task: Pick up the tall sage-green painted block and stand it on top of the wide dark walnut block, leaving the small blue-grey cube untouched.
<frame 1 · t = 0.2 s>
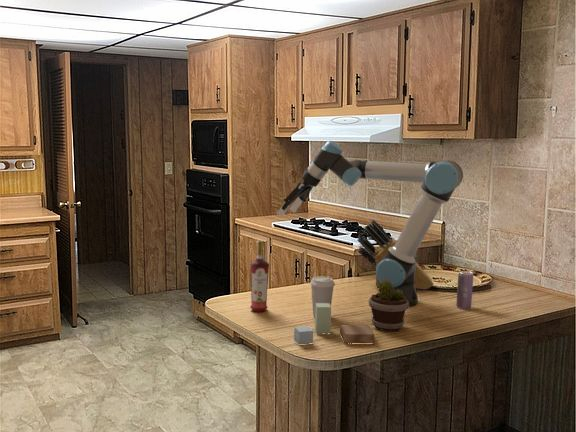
hand: (285, 213, 269), 36 cm above the countertop, tool tilted 35°, fingers open, 13 cm apart
beverage can: (463, 308, 262), on the countertop
sage block: (322, 332, 227), on the countertop
flowerpot: (387, 327, 234), on the countertop
blue-grey cube: (303, 343, 216), on the countertop
walnut block: (356, 340, 220), on the countertop
liquor: (258, 310, 251), on the countertop
knife block: (393, 286, 295), on the countertop
coffee cup: (321, 317, 245), on the countertop
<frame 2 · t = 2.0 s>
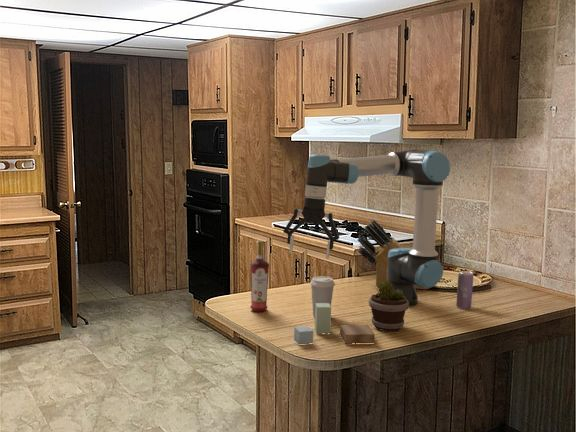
hand: (308, 255, 229), 27 cm above the countertop, tool pointing down, fingers open, 13 cm apart
nothing on the countertop moved.
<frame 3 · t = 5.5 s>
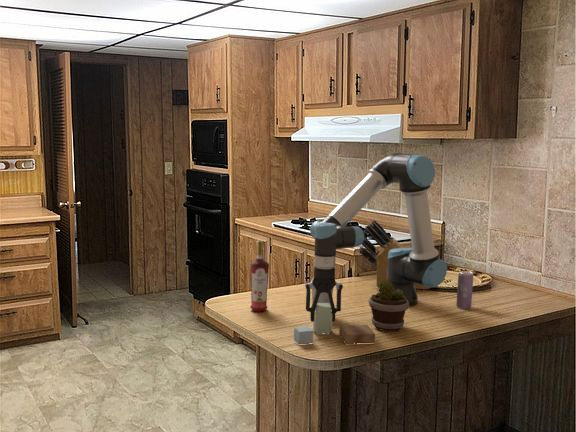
hand: (322, 329, 227), 1 cm above the countertop, tool pointing down, fingers closed on sage block, 5 cm apart
sage block: (322, 331, 227), on the countertop, touching gripper
everything else where it was.
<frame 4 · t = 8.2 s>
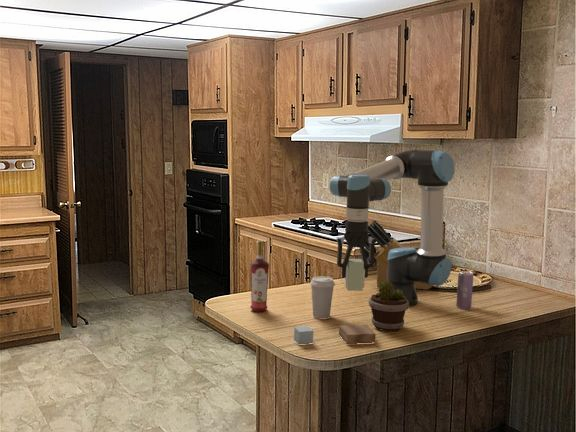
hand: (354, 286, 218), 19 cm above the countertop, tool pointing down, fingers closed on sage block, 5 cm apart
sage block: (354, 288, 218), point 18 cm above the countertop, touching gripper
everything else where it was.
when the fingers open (5 cm above the countertop, at t = 11.2 s): sage block stays where it is, resting on walnut block.
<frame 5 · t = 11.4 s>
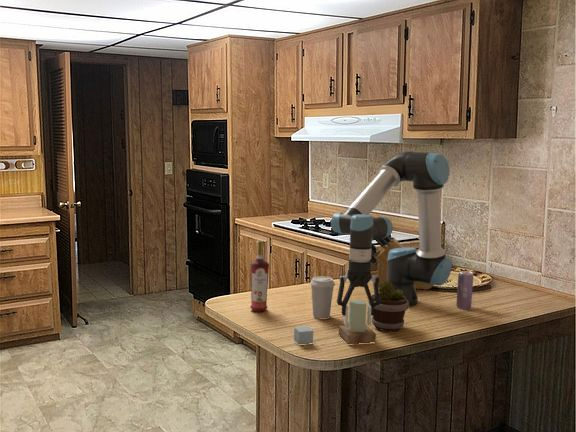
hand: (357, 324, 219), 6 cm above the countertop, tool pointing down, fingers open, 7 cm apart
sage block: (356, 329, 220), point 4 cm above the countertop, touching walnut block
walnut block: (356, 340, 220), on the countertop, touching sage block
everything else where it was.
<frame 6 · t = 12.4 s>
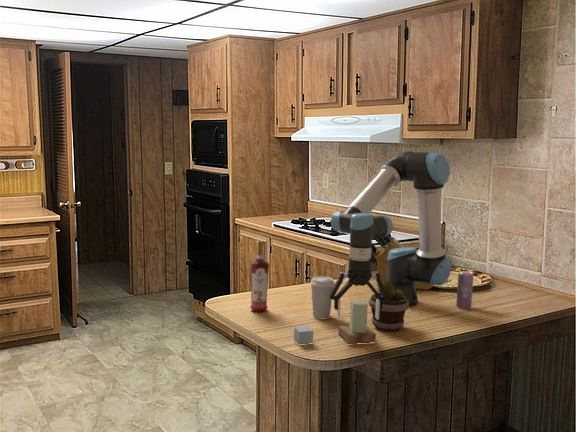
hand: (357, 318, 219), 8 cm above the countertop, tool pointing down, fingers open, 13 cm apart
sage block: (357, 330, 219), point 4 cm above the countertop
walnut block: (356, 340, 220), on the countertop
everything else where it was.
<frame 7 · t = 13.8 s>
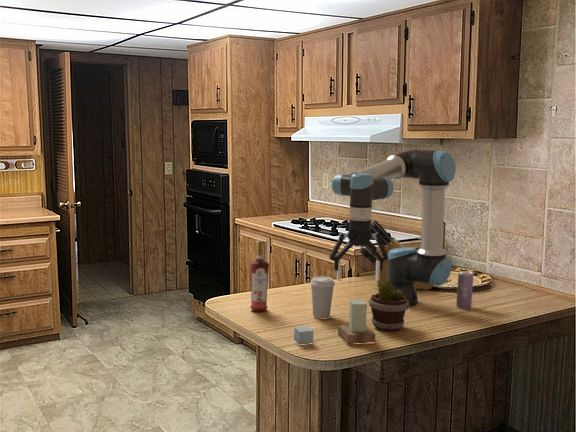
hand: (357, 279, 218), 21 cm above the countertop, tool pointing down, fingers open, 13 cm apart
nothing on the countertop moved.
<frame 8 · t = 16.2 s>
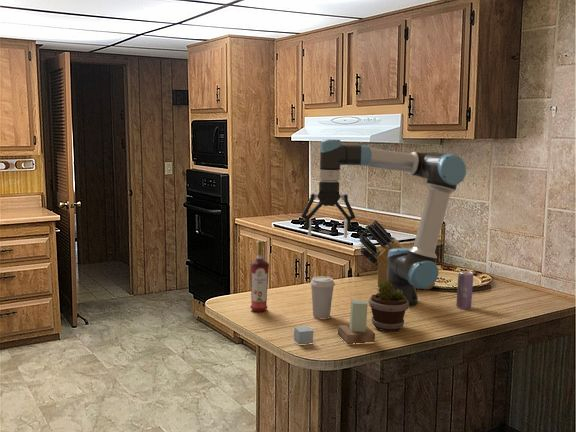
hand: (327, 237, 239), 32 cm above the countertop, tool pointing down, fingers open, 13 cm apart
nothing on the countertop moved.
at the end: sage block inside the target area on the walnut block (0.4 cm from its centre), point 4.1 cm above the walnut block's base; sage block tilted 1°; the gripper is holding nothing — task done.
